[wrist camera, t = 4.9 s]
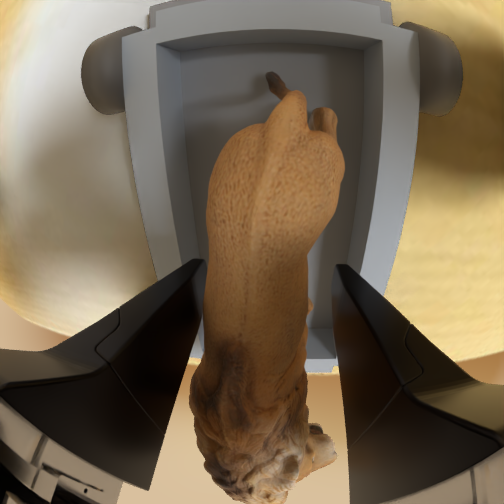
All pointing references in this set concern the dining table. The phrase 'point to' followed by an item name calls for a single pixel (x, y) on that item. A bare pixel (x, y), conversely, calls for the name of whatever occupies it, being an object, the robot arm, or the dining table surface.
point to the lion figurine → (264, 300)
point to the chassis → (258, 111)
